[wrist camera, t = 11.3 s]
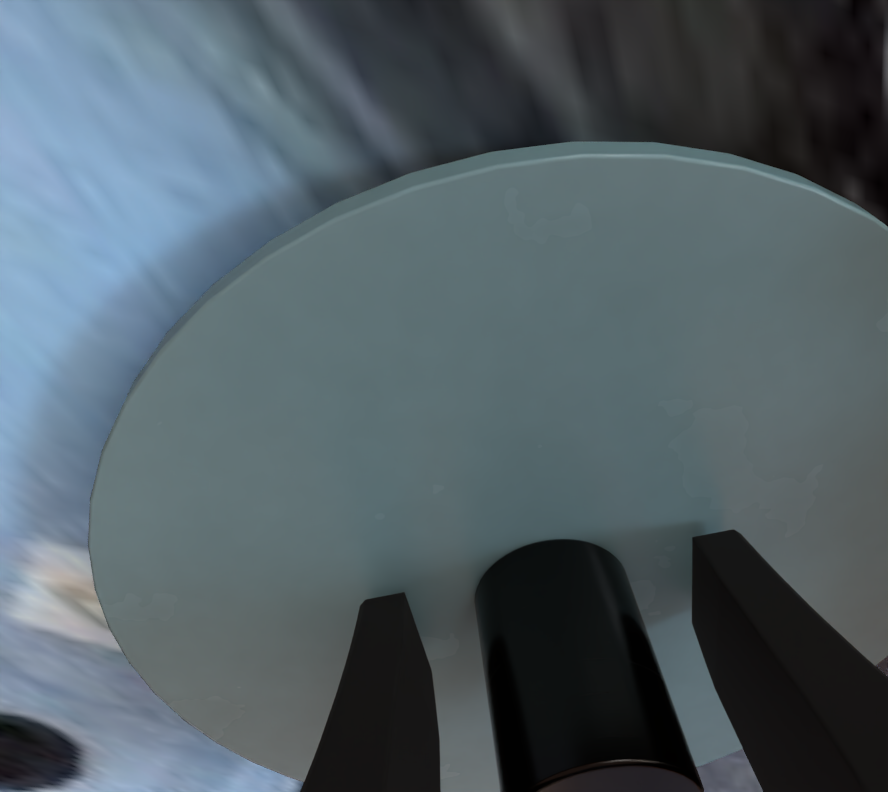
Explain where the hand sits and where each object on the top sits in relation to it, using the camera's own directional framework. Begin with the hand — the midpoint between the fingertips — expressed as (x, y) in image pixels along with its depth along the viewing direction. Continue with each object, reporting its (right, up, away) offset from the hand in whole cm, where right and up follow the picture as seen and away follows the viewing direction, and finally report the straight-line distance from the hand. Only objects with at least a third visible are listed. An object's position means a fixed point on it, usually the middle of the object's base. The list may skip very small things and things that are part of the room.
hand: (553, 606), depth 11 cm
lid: (0, 0, +1) cm, 1 cm away
